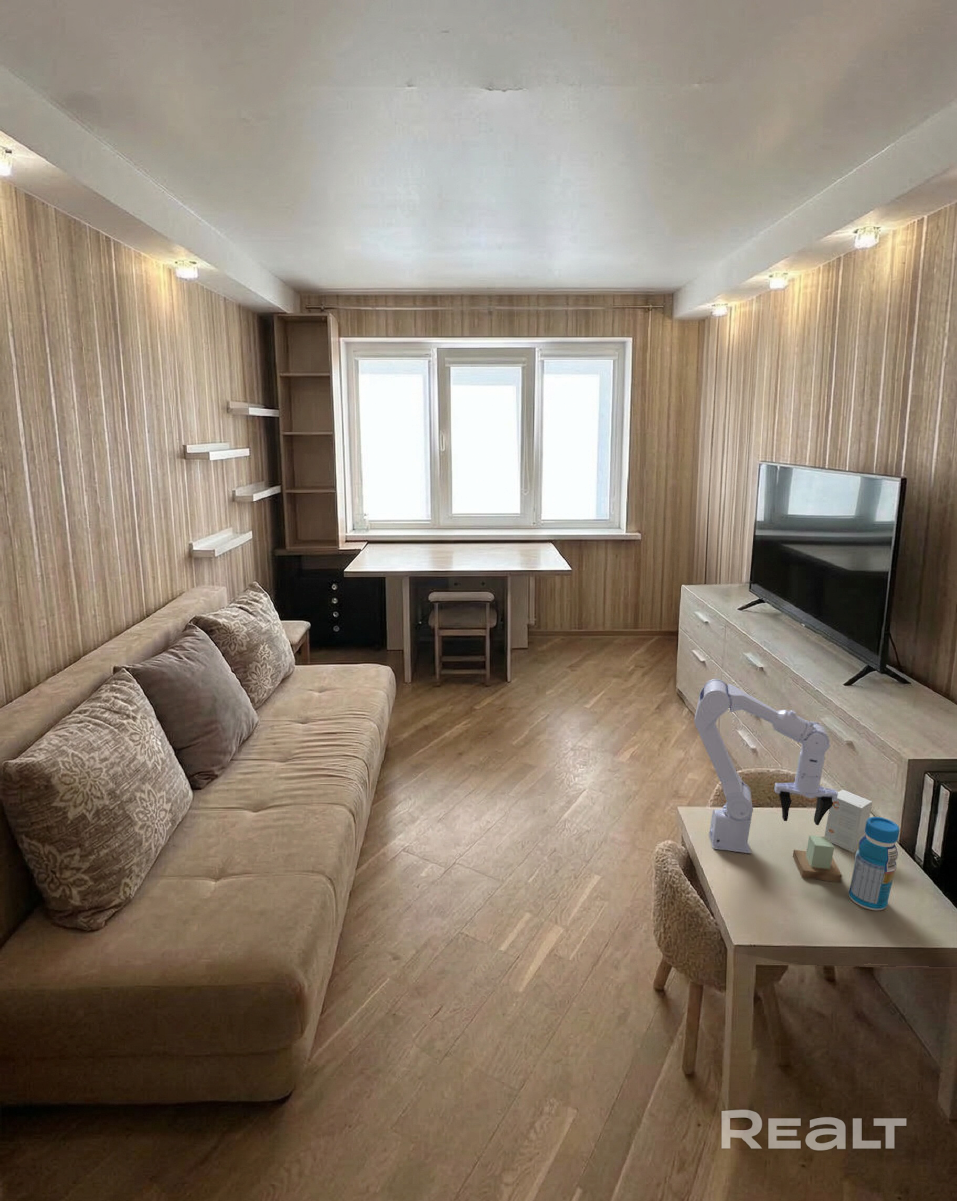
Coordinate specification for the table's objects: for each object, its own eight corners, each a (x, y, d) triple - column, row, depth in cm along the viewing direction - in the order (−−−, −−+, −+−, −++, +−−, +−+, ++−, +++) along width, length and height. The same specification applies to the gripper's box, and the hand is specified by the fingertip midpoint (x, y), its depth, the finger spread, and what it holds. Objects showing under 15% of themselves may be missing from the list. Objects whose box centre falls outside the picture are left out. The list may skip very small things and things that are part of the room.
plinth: (801, 877, 185) (803, 870, 184) (792, 856, 193) (793, 849, 193) (840, 882, 184) (841, 875, 183) (829, 861, 192) (830, 854, 192)
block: (810, 866, 186) (815, 845, 184) (805, 856, 190) (809, 835, 189) (830, 869, 185) (834, 847, 184) (824, 858, 190) (828, 837, 188)
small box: (864, 845, 200) (873, 801, 197) (853, 853, 196) (862, 808, 193) (834, 832, 206) (842, 788, 203) (822, 839, 202) (831, 795, 199)
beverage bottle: (852, 908, 174) (868, 830, 169) (843, 886, 182) (858, 811, 177) (892, 915, 172) (909, 836, 167) (881, 893, 180) (898, 817, 175)
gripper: (782, 775, 185) (774, 825, 189) (844, 783, 183) (835, 833, 187) (775, 763, 192) (767, 811, 195) (836, 769, 190) (827, 818, 193)
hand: (800, 821), depth 191 cm, fingers open, 7 cm apart
